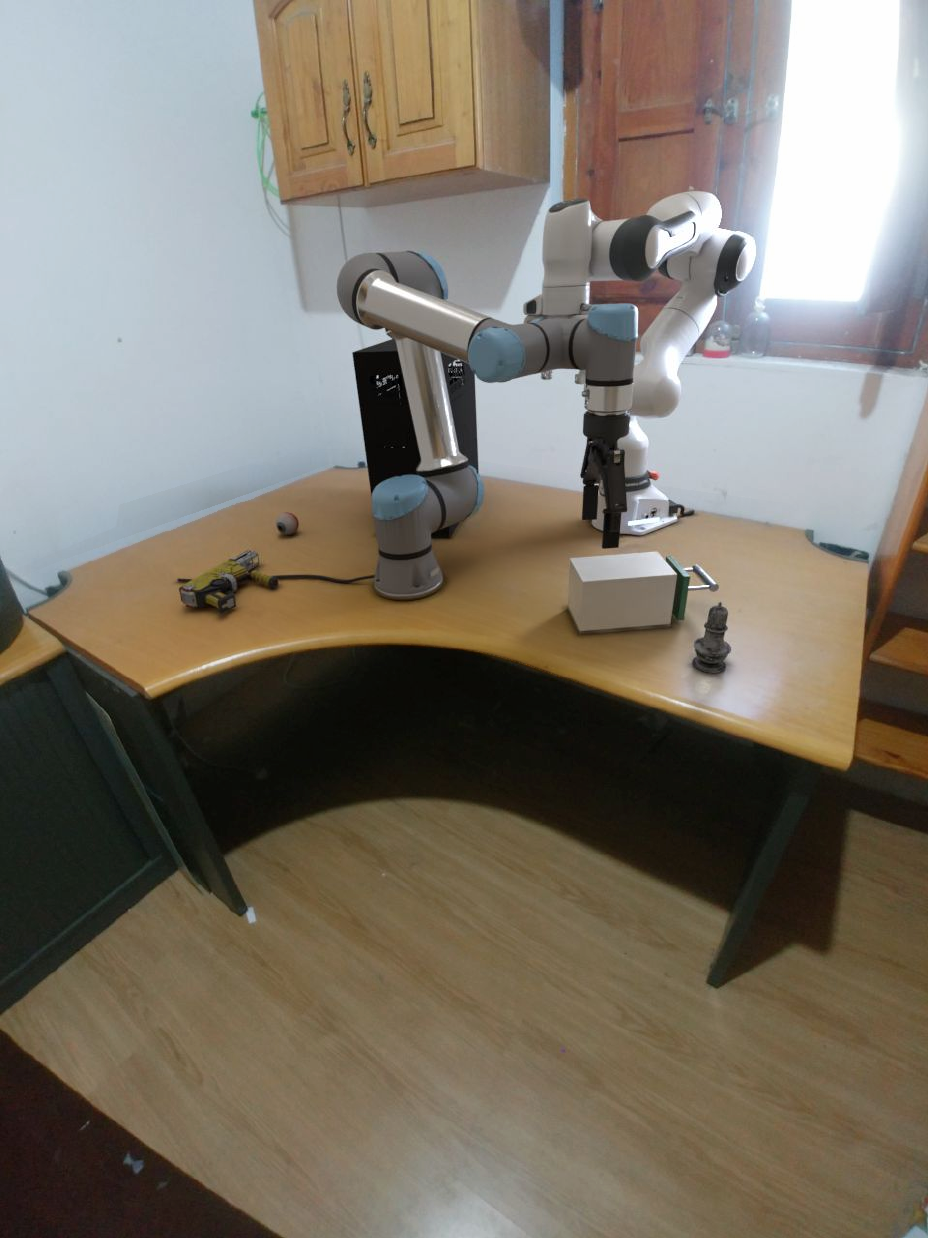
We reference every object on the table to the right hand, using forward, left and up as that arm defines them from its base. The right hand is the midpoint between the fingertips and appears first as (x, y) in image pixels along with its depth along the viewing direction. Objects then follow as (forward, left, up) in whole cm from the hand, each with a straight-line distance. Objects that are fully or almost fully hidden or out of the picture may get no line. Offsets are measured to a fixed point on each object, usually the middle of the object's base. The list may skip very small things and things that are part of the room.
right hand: (563, 381), depth 120 cm
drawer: (-2, +29, -39) cm, 49 cm away
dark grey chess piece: (0, +47, -40) cm, 62 cm away
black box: (+12, -49, -40) cm, 64 cm away
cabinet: (+4, +27, -40) cm, 48 cm away
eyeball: (+52, -53, -40) cm, 85 cm away
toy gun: (+68, -25, -40) cm, 83 cm away
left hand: (+8, +25, -22) cm, 34 cm away
